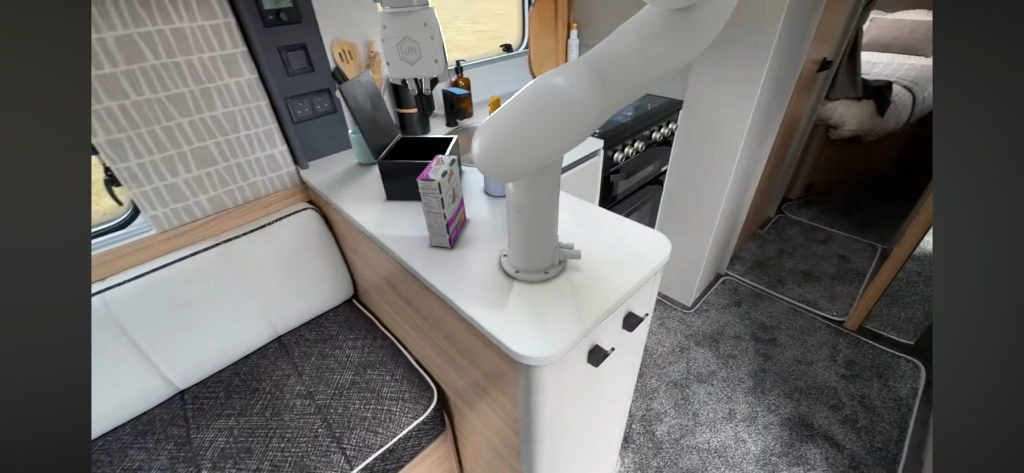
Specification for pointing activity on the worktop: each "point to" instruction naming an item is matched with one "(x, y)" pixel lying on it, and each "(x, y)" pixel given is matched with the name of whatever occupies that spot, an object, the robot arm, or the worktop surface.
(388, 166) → the bin
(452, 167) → the candy bar box
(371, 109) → the bin lid
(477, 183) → the worktop surface
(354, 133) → the cup
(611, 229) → the worktop surface
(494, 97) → the soap bottle
